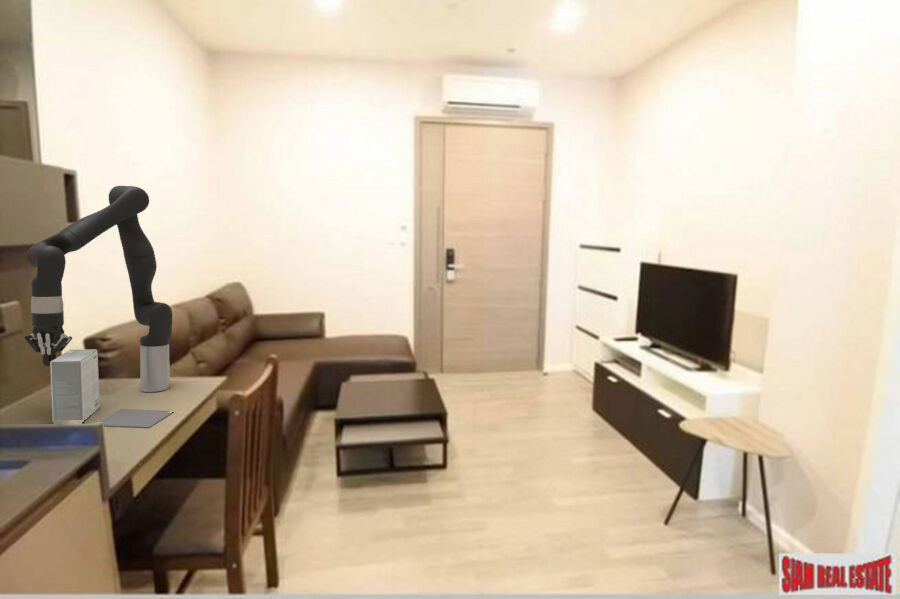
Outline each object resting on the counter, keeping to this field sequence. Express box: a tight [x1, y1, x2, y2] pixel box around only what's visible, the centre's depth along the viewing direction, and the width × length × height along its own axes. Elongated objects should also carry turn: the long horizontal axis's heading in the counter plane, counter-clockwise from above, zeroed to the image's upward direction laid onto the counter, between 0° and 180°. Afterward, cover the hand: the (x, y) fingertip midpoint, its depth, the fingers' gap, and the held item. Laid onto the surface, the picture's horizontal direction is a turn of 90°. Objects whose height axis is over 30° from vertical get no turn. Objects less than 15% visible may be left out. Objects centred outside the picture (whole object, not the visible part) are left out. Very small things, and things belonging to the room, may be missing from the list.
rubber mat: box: [96, 408, 171, 429], centre depth 148 cm, size 14×17×1 cm
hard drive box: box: [49, 348, 101, 421], centre depth 146 cm, size 16×8×20 cm, turn 21°
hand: (49, 365), depth 145 cm, fingers closed
